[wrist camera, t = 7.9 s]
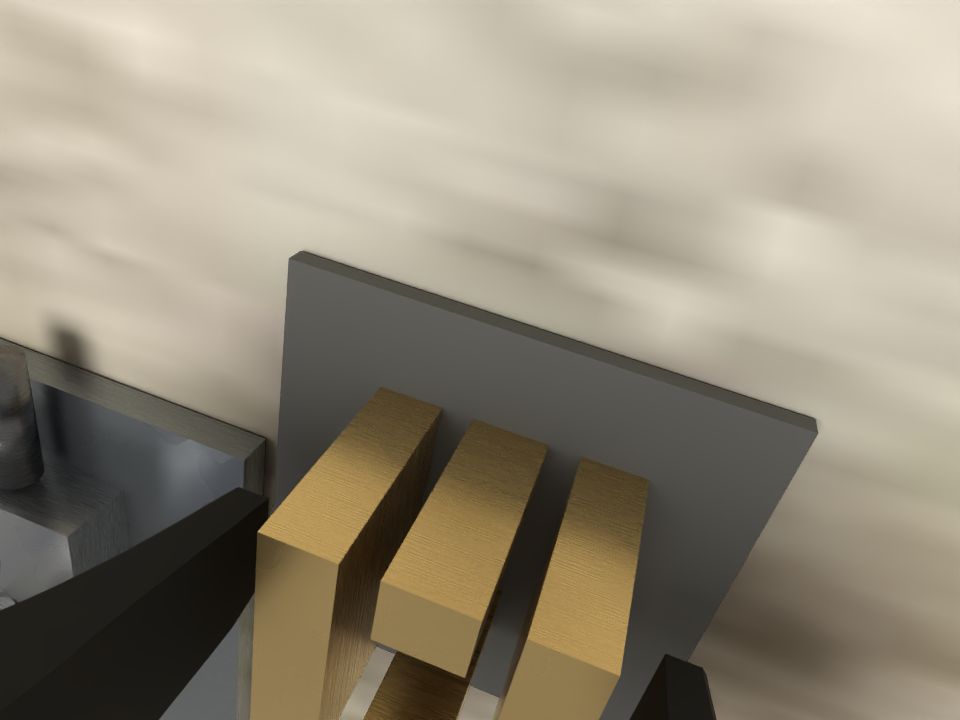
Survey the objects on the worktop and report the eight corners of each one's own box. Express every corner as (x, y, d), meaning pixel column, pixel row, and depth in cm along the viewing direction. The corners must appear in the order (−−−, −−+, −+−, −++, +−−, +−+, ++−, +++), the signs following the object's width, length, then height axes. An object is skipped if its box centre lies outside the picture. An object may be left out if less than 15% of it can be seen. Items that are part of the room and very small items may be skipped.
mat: (635, 736, 16) (633, 753, 15) (277, 588, 17) (267, 600, 17) (815, 419, 11) (818, 433, 11) (301, 250, 12) (288, 258, 12)
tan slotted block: (573, 659, 14) (527, 864, 11) (353, 572, 15) (249, 739, 12) (649, 480, 12) (620, 676, 9) (380, 386, 13) (257, 532, 9)
